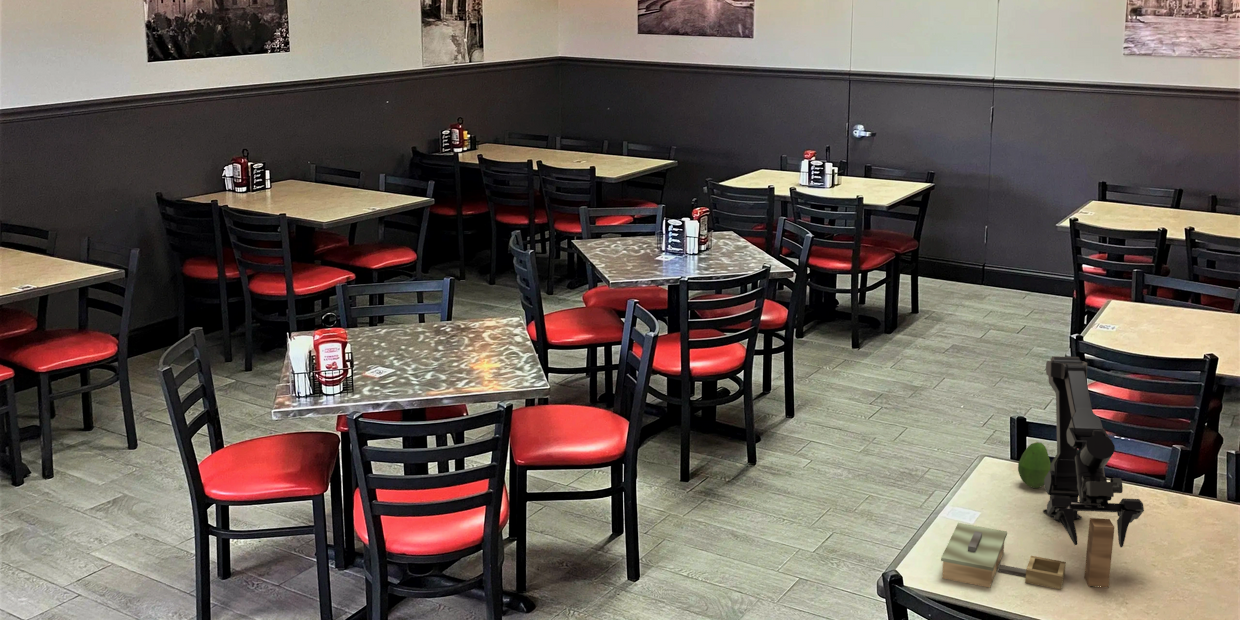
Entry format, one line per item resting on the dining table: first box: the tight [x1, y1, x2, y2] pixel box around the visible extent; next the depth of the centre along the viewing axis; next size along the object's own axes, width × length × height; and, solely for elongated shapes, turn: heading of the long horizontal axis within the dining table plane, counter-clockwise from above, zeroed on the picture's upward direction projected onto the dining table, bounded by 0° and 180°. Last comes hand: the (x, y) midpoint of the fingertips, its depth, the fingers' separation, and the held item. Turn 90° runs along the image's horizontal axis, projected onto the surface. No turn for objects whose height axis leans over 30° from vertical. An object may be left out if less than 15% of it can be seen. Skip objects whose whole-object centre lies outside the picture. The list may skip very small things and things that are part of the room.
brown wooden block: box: [1083, 517, 1115, 588], centre depth 241 cm, size 4×4×14 cm
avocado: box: [1017, 441, 1052, 489], centre depth 290 cm, size 8×8×12 cm
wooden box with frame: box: [940, 522, 1067, 590], centre depth 248 cm, size 19×24×6 cm
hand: (1098, 545), depth 242 cm, fingers open, 9 cm apart
